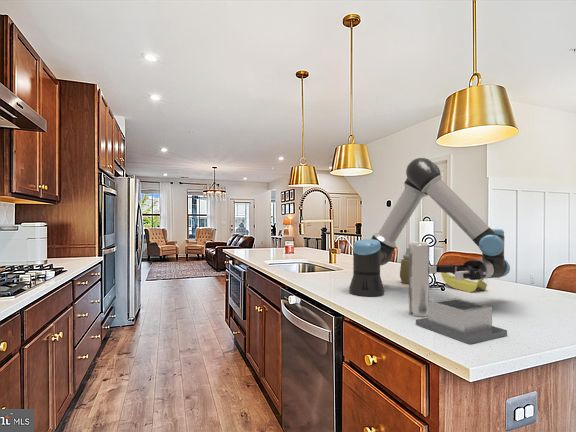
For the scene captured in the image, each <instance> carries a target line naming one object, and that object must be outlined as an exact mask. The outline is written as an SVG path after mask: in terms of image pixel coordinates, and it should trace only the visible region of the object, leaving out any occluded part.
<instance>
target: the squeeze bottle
mask: <svg viewBox="0 0 576 432" xmlns="http://www.w3.org/2000/svg"><path fill="white" fill-rule="evenodd" d="M399 277H400V282H401V283H403V284H406V285H409V247H407V248H406V251H405V254H404V255H402V259H401V260H400V269H399Z"/></svg>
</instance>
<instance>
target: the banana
mask: <svg viewBox="0 0 576 432" xmlns="http://www.w3.org/2000/svg"><path fill="white" fill-rule="evenodd" d="M440 274H441V277H442V280H443V281H444V283H445V284H446V285H448V286H449V287H451V288H454V290H455V289H456V290H458V291H459V290H460V291H462V292H467V293H474V292H475V291H476V290H479V291H483V292H485V291H486V290H487V289H486V288H487V287H488V284H487V283H486V282H484V280H481V279H480V280H476V282H475V281H474V280H470V279H463V280H455V275H451V274H450V273H440Z"/></svg>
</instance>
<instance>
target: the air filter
mask: <svg viewBox="0 0 576 432" xmlns="http://www.w3.org/2000/svg"><path fill="white" fill-rule="evenodd" d="M408 244H409V245H408V248H409V284H408V314H409V315H410V316H413V317H414V316H415V317H418V318H419V317H421V318H423V317H424V318H427V317H428V302H430V274H429V266H430V245H429V243H428V242H427V241H410V243H408Z"/></svg>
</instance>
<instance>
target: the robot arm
mask: <svg viewBox="0 0 576 432" xmlns="http://www.w3.org/2000/svg"><path fill="white" fill-rule="evenodd" d="M405 175H406V179H405V181H404V183H403V184H404V185H403V186H404V189H403V191H402V193H401V194H400V195H399V198H398V199H397V200H396V202H395V205H394V206H393V208H392V210H391V211H390V213H389V215H388V216H387V217H386V220H384V223H383V225H382V227H381V228H380V229H379V231H378V232H376V233H374V234H373V235H372V237H371V238H370V239H368V238H367V239H366V238H365V239H358V240H355V242H354V243H353V248H352V252H353V254H352V255H353V258H352V261H353V263H352V264H353V266H352V267H353V268H352V269H353V271H352V277H351V281H350V284H349V287H348V293H349V294H352V295H355V296H360V297H381V296H384V295H385V287H384V284H383V281H382V277H381V266H385V265H386V264H387V263H389V262H390V261H391V259H392V257H393V252H394V250H395V249H396V248H397V244H396V241H397V239H398V238H399V236H400V235H401V233H402V231H403V229H404V228H405V226H406V225H407V223H408V221H409V220H410V218H411V217H412V215H413V213H414V212H415V211H416V208H417V207H418V205H419V204H420V203H421V200H422V199H423V198H424V197H428V196H429V197H430V198H431V199H432V200H433V201H434V203H436V204H437V205H438V206H439V207H440V208H441V209H442V210H443V211H444V213H445V214H446V215H448V216H449V218H450V219H451V220H452V221H453V222H454V223H455V224H456V226H458V227H459V228H460V230H462V231H463V232H464V233H465V234H466V236H468V237H469V238H470V239H471V241H473V243H474V244H475V245H476V246H477V247H478V248H479V250H480V251H481V253H482V254H481V255H482V256H481V257H482V258H480V259H470V260H466V261H465V262H464V263H463V264H459V265H458V264H457V265H456V264H430V265H429V275H430V274H433V275H436V274H437V273H440V274H441V273H447V274H453V275H454V276H455V280H463V279H465V280H469V281H478V280H482V281H484V280H485V279H486V280H487V279H494V278H495V279H499V278H502V277H506V276H507V275H508V274H509V273H510V270H511V266H510V263H509V262H508V261H507V260H506V259H505V231H504V229H502V228H501V229H500V228H491V227H490V226H488V224H487V223H486V222H485V221H484V220H483V219H482V218H481V217H480V216H479V215H478V214H477V213H476V212H475V211H474V210H473V209H472V208H471V207H470V206H469V205H468V204H467V203H466V202H465V201H464V200H462V198H461V197H460V196H459V195H458V194H457V193H456V192H455V191H454V190H453V189H452V188H451V187H449V185H447V183H446V182H445V181H444V180H443V179H442V177H443V176H442V174H441V170H440V168H439V166H438V164H435V163H434V162H433V161H431V160H430V159H429V158H425V157H418V158H414V159H412V160H411V161H410V162H409V163H408V165H407V167H406V171H405Z"/></svg>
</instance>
